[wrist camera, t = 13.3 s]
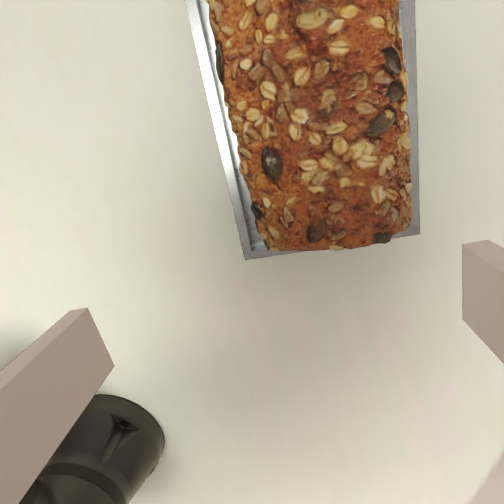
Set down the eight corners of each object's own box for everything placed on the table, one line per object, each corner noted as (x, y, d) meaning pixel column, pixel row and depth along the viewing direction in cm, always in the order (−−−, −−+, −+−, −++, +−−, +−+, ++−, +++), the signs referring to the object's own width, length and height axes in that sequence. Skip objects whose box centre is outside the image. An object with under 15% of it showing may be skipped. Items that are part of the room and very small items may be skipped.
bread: (382, 206, 29) (425, 248, 20) (264, 226, 31) (253, 272, 22) (366, -57, 22) (419, -179, 13) (217, -11, 24) (171, -91, 15)
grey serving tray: (250, 244, 35) (244, 260, 31) (190, -24, 26) (173, -49, 23) (404, 220, 32) (420, 234, 28) (392, -88, 24) (412, -128, 20)
